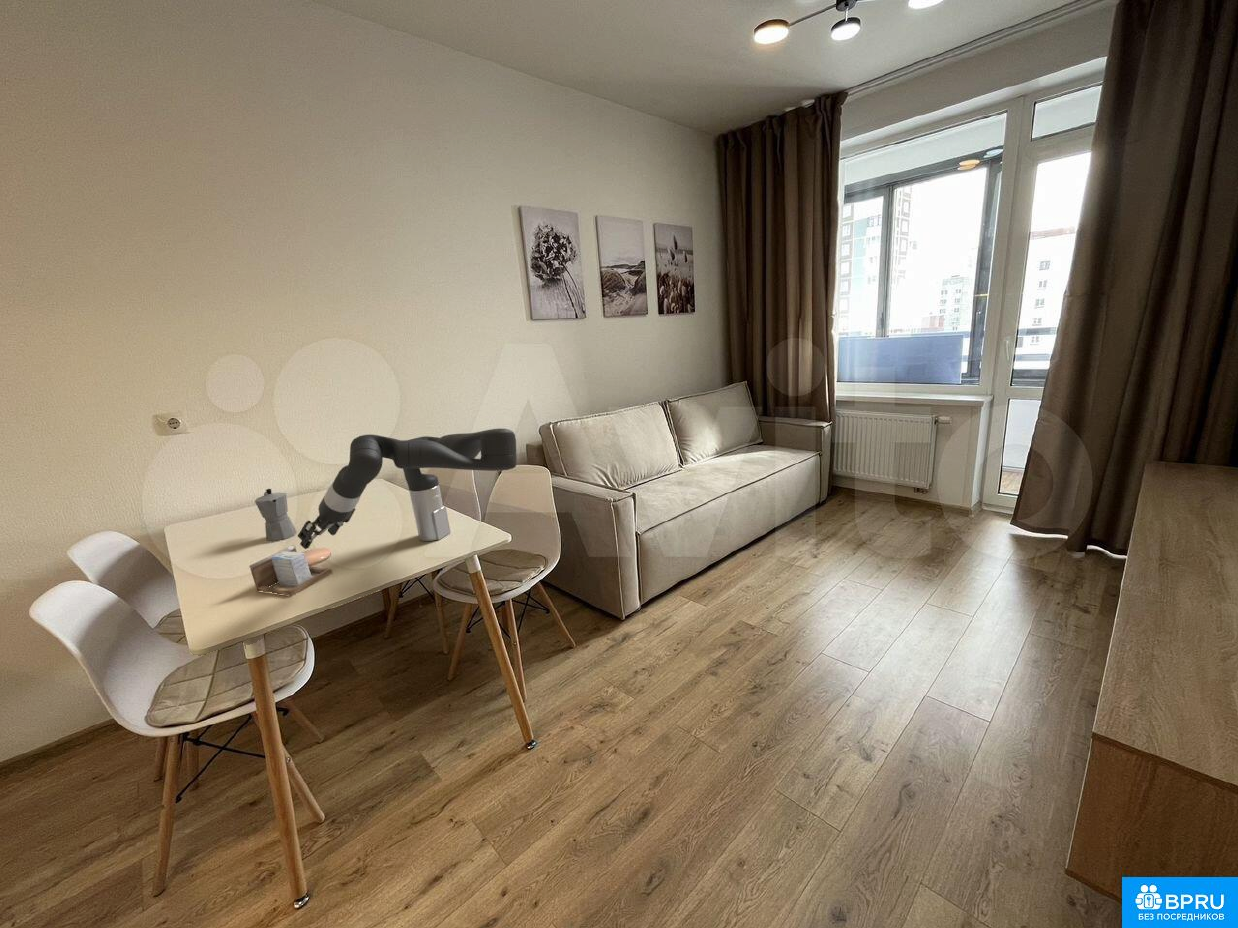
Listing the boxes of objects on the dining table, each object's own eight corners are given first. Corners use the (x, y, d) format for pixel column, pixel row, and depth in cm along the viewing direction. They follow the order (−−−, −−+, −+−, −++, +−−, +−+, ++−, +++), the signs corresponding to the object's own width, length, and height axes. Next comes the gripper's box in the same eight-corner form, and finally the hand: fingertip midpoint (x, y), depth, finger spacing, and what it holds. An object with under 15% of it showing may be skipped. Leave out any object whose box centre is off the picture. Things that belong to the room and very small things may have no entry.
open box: (332, 573, 147) (325, 547, 145) (291, 596, 136) (283, 568, 134) (299, 569, 152) (292, 544, 150) (257, 591, 140) (248, 565, 138)
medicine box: (313, 580, 144) (305, 552, 142) (299, 587, 140) (290, 559, 138) (292, 577, 147) (285, 550, 145) (278, 585, 143) (270, 557, 141)
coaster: (339, 552, 162) (339, 549, 162) (306, 569, 151) (306, 566, 151) (311, 549, 166) (311, 546, 166) (277, 566, 155) (277, 563, 155)
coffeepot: (301, 536, 179) (288, 488, 174) (270, 545, 173) (255, 496, 168) (291, 526, 190) (278, 481, 185) (261, 535, 184) (247, 488, 179)
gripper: (328, 520, 122) (304, 561, 129) (372, 500, 135) (349, 537, 141) (305, 499, 122) (283, 541, 129) (352, 481, 135) (329, 519, 142)
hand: (317, 539), depth 135 cm, fingers open, 8 cm apart
